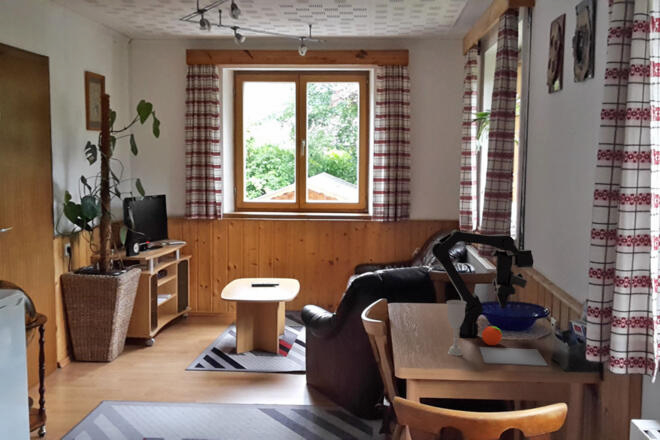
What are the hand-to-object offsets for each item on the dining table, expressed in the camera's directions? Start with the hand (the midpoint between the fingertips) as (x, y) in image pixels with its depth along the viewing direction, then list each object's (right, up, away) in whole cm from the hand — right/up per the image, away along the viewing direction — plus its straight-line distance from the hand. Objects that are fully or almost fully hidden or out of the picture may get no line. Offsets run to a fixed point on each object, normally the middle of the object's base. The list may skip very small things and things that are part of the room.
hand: (502, 308), depth 245 cm
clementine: (-6, -12, -11) cm, 17 cm away
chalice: (-22, -13, -21) cm, 33 cm away
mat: (-3, -13, -25) cm, 28 cm away
